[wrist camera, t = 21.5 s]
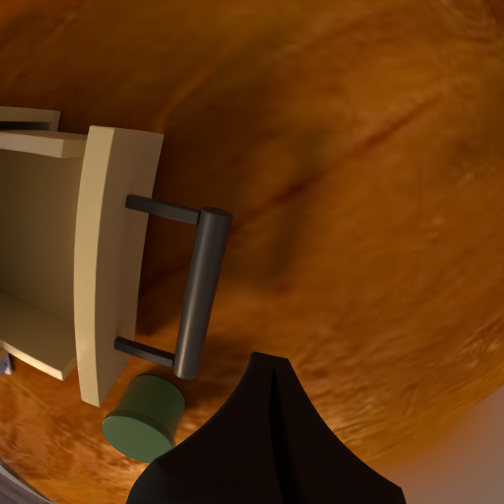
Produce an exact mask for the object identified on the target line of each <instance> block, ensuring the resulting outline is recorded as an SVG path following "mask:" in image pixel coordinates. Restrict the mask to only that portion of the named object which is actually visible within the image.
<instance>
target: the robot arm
mask: <svg viewBox="0 0 504 504" xmlns="http://www.w3.org/2000/svg"><path fill="white" fill-rule="evenodd" d="M4 372H5V373H7V374H9V375H11V374H12V373H13V371H12V367H11V363H10V359H9V355H6V356H5V357H4V358H3V359H2V360H1V361H0V376H1V375H2V374H3V373H4ZM0 504H49V503H47V502H45V501H44V500H42V499H40V498H38V497H37V496H35V495H33V494H32V493H30V492H28V491H27V490H25V489H23V488H22V487H20V486H19V485H17V484H15V483H14V482H12V481H11V480H10V479H8V478H7V477H5V476H4V475H2V474H1V473H0ZM126 504H406V501H405V497H404V494H403V491H402V489H401V488H400V487H399V486H397V485H395V484H394V483H392V482H391V481H389V480H387V479H386V478H384V477H383V476H381V475H379V474H378V473H377V472H375V471H374V470H373V469H371V468H370V467H369V466H367V465H366V464H365V463H364V462H362V461H361V460H360V459H359V458H358V457H357V456H355V455H354V454H353V453H352V452H351V451H350V450H349V449H348V448H347V447H346V446H345V445H344V444H343V443H342V442H341V441H340V440H339V439H338V438H337V437H336V435H335V434H334V433H333V432H332V431H331V429H330V428H329V427H328V426H327V425H326V423H325V422H324V421H323V419H322V418H321V417H320V415H319V414H318V412H317V411H316V409H315V408H314V406H313V405H312V403H311V401H310V400H309V398H308V396H307V394H306V393H305V391H304V389H303V387H302V386H301V384H300V382H299V380H298V378H297V376H296V374H295V372H294V370H293V368H292V366H291V364H290V362H289V360H288V359H287V358H282V357H277V356H273V355H268V354H264V353H259V352H253V353H251V355H250V358H249V361H248V365H247V368H246V371H245V374H244V375H243V377H242V379H241V381H240V382H239V384H238V386H237V387H236V388H235V390H234V391H233V393H232V394H231V395H230V397H229V398H228V399H227V401H226V402H225V403H224V404H223V405H222V407H221V408H220V409H219V410H218V411H217V412H216V413H215V414H214V415H213V416H212V417H211V418H210V419H209V420H208V421H207V422H206V423H205V424H204V425H203V426H202V427H201V428H199V429H198V430H197V431H196V432H195V433H193V434H192V435H191V436H189V437H188V438H187V439H185V440H184V441H183V442H181V443H180V444H178V445H177V446H175V447H174V448H172V449H171V450H169V451H167V452H166V453H164V454H162V455H160V456H159V457H157V458H155V459H154V460H153V461H152V462H151V463H150V465H149V466H148V467H147V468H146V469H145V470H144V471H143V473H142V474H141V475H140V476H139V478H138V479H137V480H136V482H135V483H134V485H133V487H132V489H131V491H130V493H129V496H128V499H127V502H126Z"/></svg>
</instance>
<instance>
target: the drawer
mask: <svg viewBox="0 0 504 504" xmlns="http://www.w3.org/2000/svg"><path fill="white" fill-rule="evenodd" d="M163 138H164V134H158V133H153V132H147V131H139V130H131V129H123V128H114V127H104V126H93V125H91V126H90V128H89V133H88V135H82V134H74V133H66V132H58V131H48V130H39V129H28V128H16V127H3V126H0V347H1V348H2V349H4V350H6V351H7V352H9V353H11V354H13V355H14V356H16V357H18V358H19V359H21V360H23V361H25V362H27V363H29V364H30V365H32V366H34V367H36V368H38V369H40V370H42V371H44V372H46V373H48V374H50V375H52V376H54V377H56V378H58V379H60V380H62V381H64V380H65V378H66V377H67V376H68V375H69V373H70V372H71V371H72V370H73V368H74V367H75V366H76V365H77V364H78V373H79V382H80V390H81V397H82V400H83V401H85V402H87V403H90V404H92V405H94V406H97V407H100V406H101V404H102V403H103V401H104V400H105V398H106V396H107V395H108V393H109V391H110V390H111V388H112V387H113V385H114V383H115V382H116V380H117V379H118V377H119V375H120V374H121V372H122V371H123V369H124V367H125V366H126V364H127V363H128V361H129V360H130V358H131V356H132V355H133V356H136V357H139V358H142V359H145V360H148V361H151V362H154V363H157V364H161V365H164V366H167V367H170V368H172V367H173V372H174V373H175V375H176V376H178V377H179V378H182V379H186V380H189V379H193V378H195V377H196V376H197V375H198V371H199V366H200V362H201V357H202V352H203V347H204V343H205V338H206V334H207V329H208V324H209V320H210V315H211V311H212V306H213V302H214V297H215V293H216V288H217V284H218V279H219V275H220V271H221V266H222V262H223V258H224V253H225V249H226V245H227V241H228V236H229V232H230V228H231V224H232V220H233V214H232V213H231V212H229V211H227V210H224V209H221V208H216V207H203V208H202V209H201V210H198V209H194V208H190V207H186V206H182V205H178V204H174V203H169V202H165V201H161V200H157V199H153V198H152V192H153V187H154V181H155V176H156V171H157V166H158V161H159V156H160V152H161V147H162V143H163ZM149 214H153V215H157V216H161V217H165V218H169V219H173V220H177V221H181V222H185V223H189V224H193V225H198V228H197V233H196V238H195V243H194V248H193V253H192V258H191V263H190V269H189V274H188V280H187V285H186V291H185V296H184V302H183V308H182V314H181V320H180V326H179V332H178V338H177V345H176V351H175V354H172V353H169V352H166V351H163V350H159V349H156V348H153V347H150V346H147V345H144V344H141V343H138V342H135V326H136V313H137V302H138V292H139V282H140V273H141V265H142V257H143V249H144V242H145V235H146V228H147V222H148V216H149Z"/></svg>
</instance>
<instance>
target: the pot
mask: <svg viewBox="0 0 504 504" xmlns="http://www.w3.org/2000/svg"><path fill="white" fill-rule="evenodd" d="M184 408H185V400H184V397H183V395H182V394H181V392H180V391H179V390H178V389H177V388H176V387H175V386H174V385H173V384H171V383H170V382H168V381H166V380H164V379H162V378H159V377H156V376H151V375H142V376H138V377H136V378H134V379H133V380H132V381H131V382H130V383H129V385H128V387H127V389H126V390H125V392H124V394H123V396H122V398H121V399H120V401H119V403H118V405H117V406H116V408H115V410H114V411H112V412H110V413H109V414H108V415H107V416H106V417H105V419H104V421H103V423H102V432H103V434H104V436H105V438H106V439H107V441H108V442H109V443H110V444H111V445H112V446H113V447H114V448H115V449H117V450H118V451H119V452H121V453H122V454H124V455H126V456H128V457H130V458H132V459H135V460H137V461H140V462H144V463H151V462H152V461H153V460H154V459H155V458H157V457H159V456H160V455H162V454H164V453H166V452H167V451H169V450H171V449H172V448H174V447H175V446H176V442H175V436H176V433H177V430H178V427H179V424H180V421H181V418H182V415H183V412H184Z"/></svg>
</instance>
